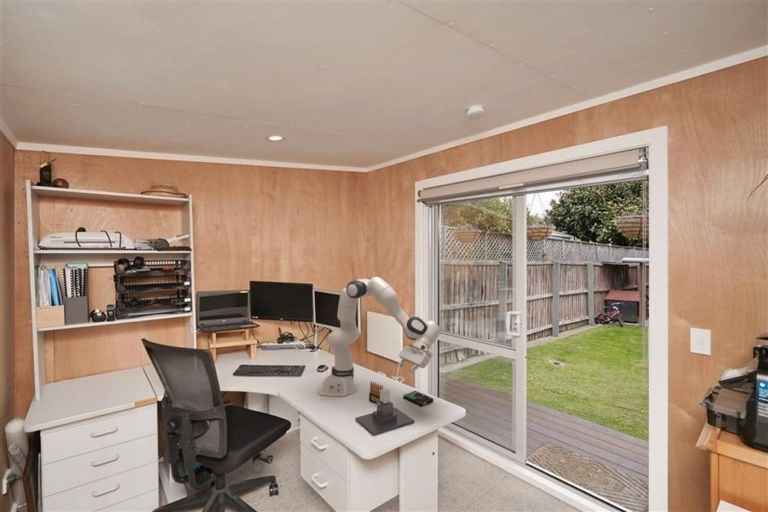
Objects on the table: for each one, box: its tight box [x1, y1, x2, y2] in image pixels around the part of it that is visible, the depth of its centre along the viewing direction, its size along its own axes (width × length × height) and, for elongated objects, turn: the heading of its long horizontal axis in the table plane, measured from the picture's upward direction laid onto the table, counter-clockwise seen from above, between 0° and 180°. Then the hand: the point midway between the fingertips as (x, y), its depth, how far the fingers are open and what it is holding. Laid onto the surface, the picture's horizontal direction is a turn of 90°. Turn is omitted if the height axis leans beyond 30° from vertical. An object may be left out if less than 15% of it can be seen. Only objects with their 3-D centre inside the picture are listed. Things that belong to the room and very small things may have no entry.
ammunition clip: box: [368, 380, 384, 405], centre depth 211 cm, size 11×2×12 cm, turn 46°
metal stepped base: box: [354, 401, 415, 437], centre depth 189 cm, size 24×18×10 cm
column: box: [380, 388, 391, 405], centre depth 189 cm, size 4×4×14 cm
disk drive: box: [402, 390, 434, 408], centre depth 216 cm, size 10×3×15 cm
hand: (405, 369), depth 195 cm, fingers open, 8 cm apart
